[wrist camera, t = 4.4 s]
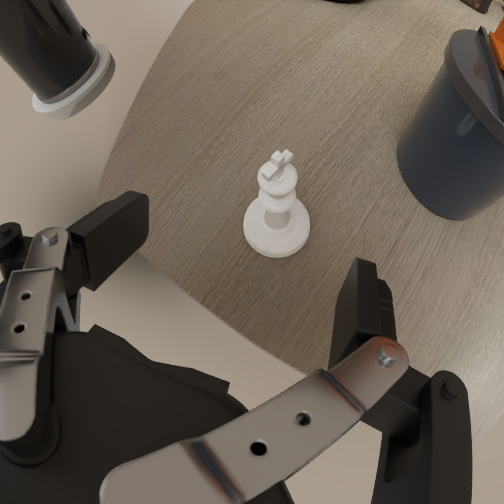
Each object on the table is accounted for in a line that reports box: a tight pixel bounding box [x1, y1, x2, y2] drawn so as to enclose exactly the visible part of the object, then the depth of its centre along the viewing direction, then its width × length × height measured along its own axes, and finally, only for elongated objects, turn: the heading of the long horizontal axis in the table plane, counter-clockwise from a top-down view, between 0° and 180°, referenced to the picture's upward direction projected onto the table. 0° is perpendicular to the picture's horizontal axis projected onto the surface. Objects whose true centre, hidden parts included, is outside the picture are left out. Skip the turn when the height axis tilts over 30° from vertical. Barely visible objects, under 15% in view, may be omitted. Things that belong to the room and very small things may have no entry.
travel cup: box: [397, 26, 504, 220], centre depth 17 cm, size 11×11×13 cm
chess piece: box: [243, 149, 310, 258], centre depth 18 cm, size 5×5×10 cm
